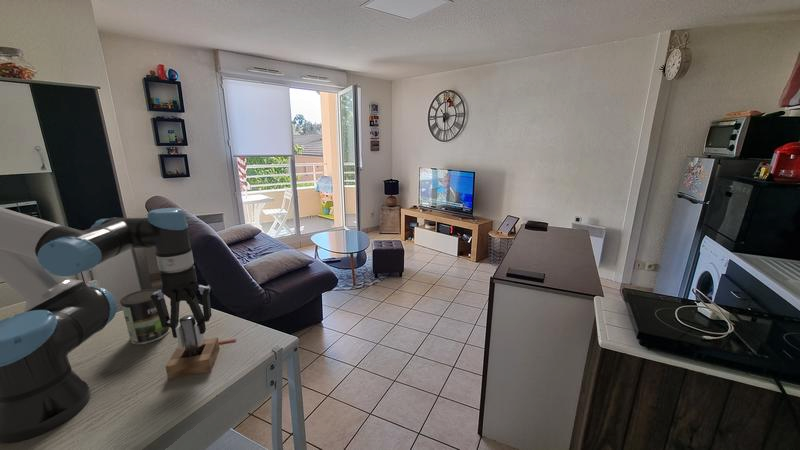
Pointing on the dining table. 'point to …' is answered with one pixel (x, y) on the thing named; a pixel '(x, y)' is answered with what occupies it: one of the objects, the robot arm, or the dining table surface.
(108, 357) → the dining table surface
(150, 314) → the coffee can
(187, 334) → the steel round rod
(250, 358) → the dining table surface
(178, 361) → the wooden square frame
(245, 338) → the dining table surface
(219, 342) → the thin red bar
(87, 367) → the dining table surface
